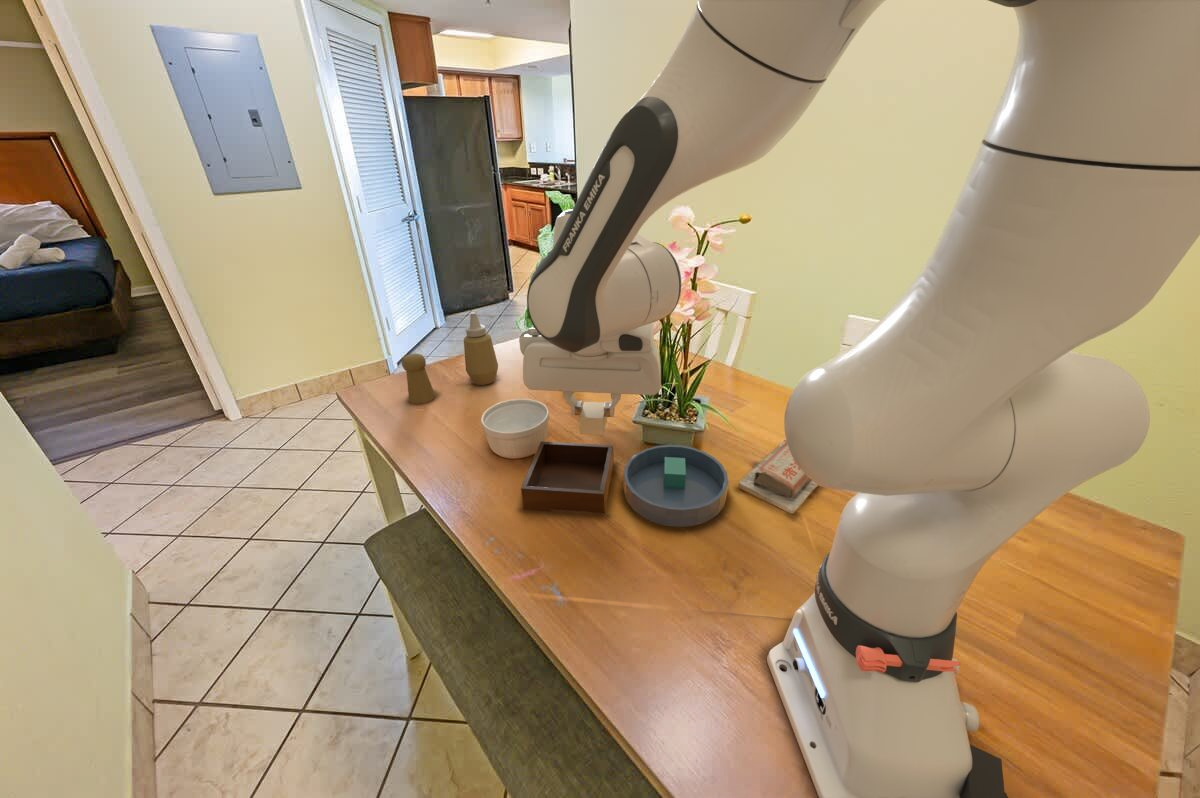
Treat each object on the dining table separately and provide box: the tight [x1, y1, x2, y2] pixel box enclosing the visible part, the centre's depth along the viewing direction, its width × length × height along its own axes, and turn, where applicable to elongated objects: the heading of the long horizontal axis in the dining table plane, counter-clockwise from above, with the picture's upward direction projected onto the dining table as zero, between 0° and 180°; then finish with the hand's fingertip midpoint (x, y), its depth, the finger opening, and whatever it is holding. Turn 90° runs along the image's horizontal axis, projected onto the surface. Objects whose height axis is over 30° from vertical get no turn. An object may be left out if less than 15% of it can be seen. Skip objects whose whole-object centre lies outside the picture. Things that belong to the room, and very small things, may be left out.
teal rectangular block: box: [664, 457, 686, 489], centre depth 83 cm, size 5×4×3 cm
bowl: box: [623, 444, 729, 528], centre depth 80 cm, size 17×17×4 cm
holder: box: [520, 441, 615, 514], centre depth 83 cm, size 14×14×4 cm
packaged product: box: [738, 439, 820, 515], centre depth 83 cm, size 18×5×10 cm
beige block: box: [578, 401, 608, 436], centre depth 73 cm, size 5×4×3 cm
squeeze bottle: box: [463, 311, 499, 386], centre depth 117 cm, size 8×8×18 cm
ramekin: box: [480, 398, 550, 460], centre depth 94 cm, size 13×13×7 cm
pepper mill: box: [401, 353, 436, 405], centre depth 112 cm, size 6×6×11 cm
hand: (593, 414), depth 73 cm, fingers closed on beige block, 3 cm apart
